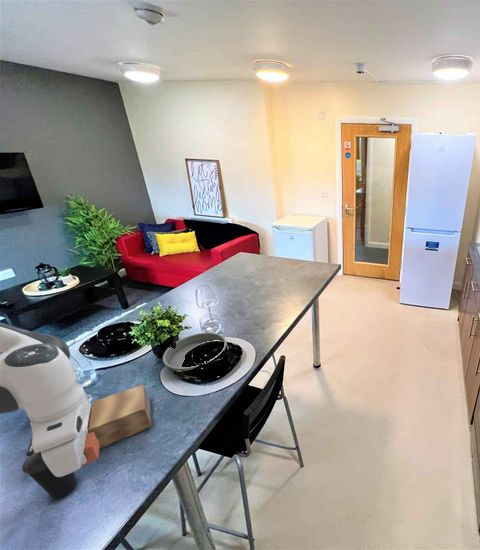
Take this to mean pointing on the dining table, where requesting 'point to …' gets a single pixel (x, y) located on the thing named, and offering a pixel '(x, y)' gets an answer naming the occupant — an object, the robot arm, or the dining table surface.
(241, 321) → the dining table surface
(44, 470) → the drinking cup
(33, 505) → the dining table surface
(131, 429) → the cabinet
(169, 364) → the cake pan
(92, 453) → the block
